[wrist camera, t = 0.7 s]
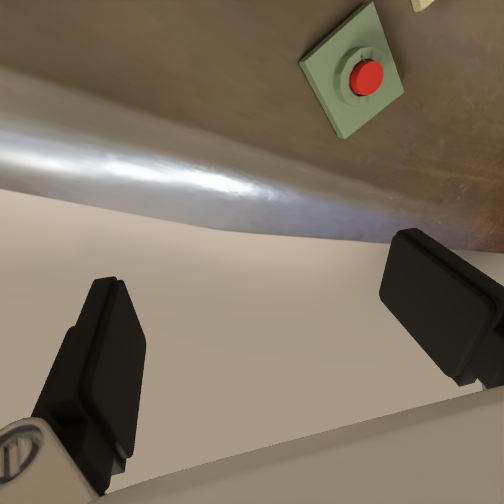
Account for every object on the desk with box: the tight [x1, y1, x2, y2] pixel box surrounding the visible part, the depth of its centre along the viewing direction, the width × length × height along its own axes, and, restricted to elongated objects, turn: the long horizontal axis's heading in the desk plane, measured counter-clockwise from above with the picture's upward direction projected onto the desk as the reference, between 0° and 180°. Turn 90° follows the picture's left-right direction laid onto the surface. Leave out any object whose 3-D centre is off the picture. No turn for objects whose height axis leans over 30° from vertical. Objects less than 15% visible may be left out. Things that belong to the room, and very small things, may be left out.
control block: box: [299, 1, 404, 139], centre depth 38 cm, size 12×10×4 cm
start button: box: [350, 61, 384, 95], centre depth 36 cm, size 4×4×2 cm
